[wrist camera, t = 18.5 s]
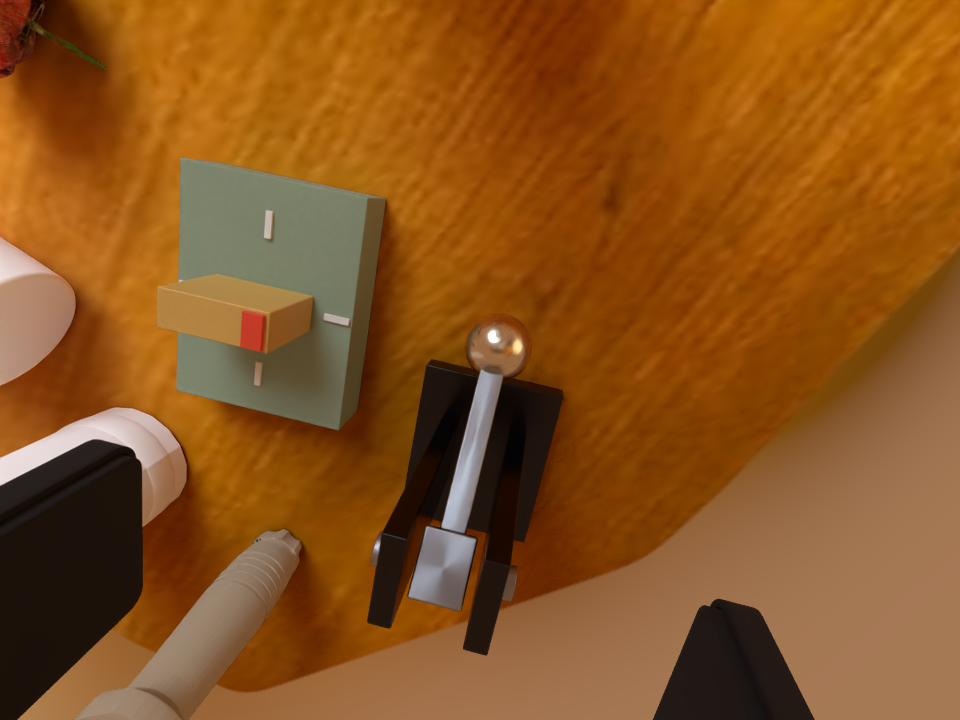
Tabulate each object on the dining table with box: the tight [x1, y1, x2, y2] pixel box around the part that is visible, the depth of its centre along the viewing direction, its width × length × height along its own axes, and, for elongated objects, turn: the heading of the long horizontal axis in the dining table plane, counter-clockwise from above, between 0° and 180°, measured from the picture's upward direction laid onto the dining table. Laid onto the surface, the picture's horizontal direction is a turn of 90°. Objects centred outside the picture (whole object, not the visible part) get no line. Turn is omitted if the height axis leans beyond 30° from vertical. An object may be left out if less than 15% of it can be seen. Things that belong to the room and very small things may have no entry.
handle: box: [74, 529, 302, 720], centre depth 29 cm, size 5×6×15 cm
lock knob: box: [157, 274, 313, 353], centre depth 26 cm, size 6×2×5 cm, turn 78°
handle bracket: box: [367, 359, 563, 655], centre depth 26 cm, size 10×8×13 cm
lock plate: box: [177, 158, 386, 430], centre depth 30 cm, size 13×10×3 cm
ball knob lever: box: [407, 314, 532, 612], centre depth 23 cm, size 13×3×3 cm
